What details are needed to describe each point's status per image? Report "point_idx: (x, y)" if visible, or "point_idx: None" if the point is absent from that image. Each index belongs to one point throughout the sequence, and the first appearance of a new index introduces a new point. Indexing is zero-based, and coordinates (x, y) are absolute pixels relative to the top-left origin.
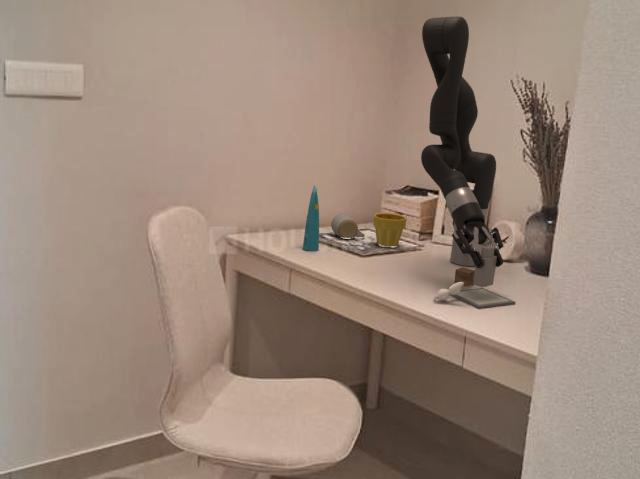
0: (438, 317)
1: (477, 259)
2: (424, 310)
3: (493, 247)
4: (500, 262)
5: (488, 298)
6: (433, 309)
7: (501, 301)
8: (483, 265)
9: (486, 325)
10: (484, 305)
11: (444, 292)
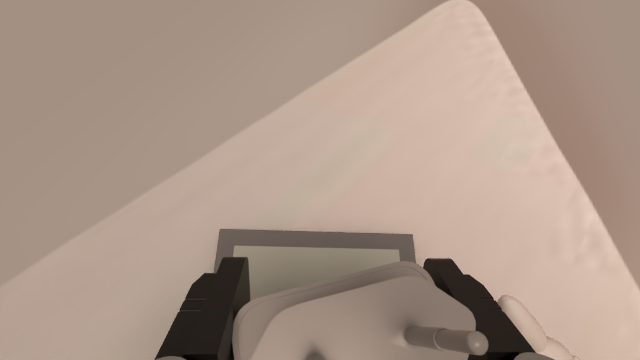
0: (598, 217)
1: (487, 301)
2: (627, 294)
3: (300, 312)
4: (244, 266)
5: None
6: (588, 292)
7: (278, 249)
8: (427, 263)
9: (475, 117)
10: (383, 236)
11: (558, 342)
